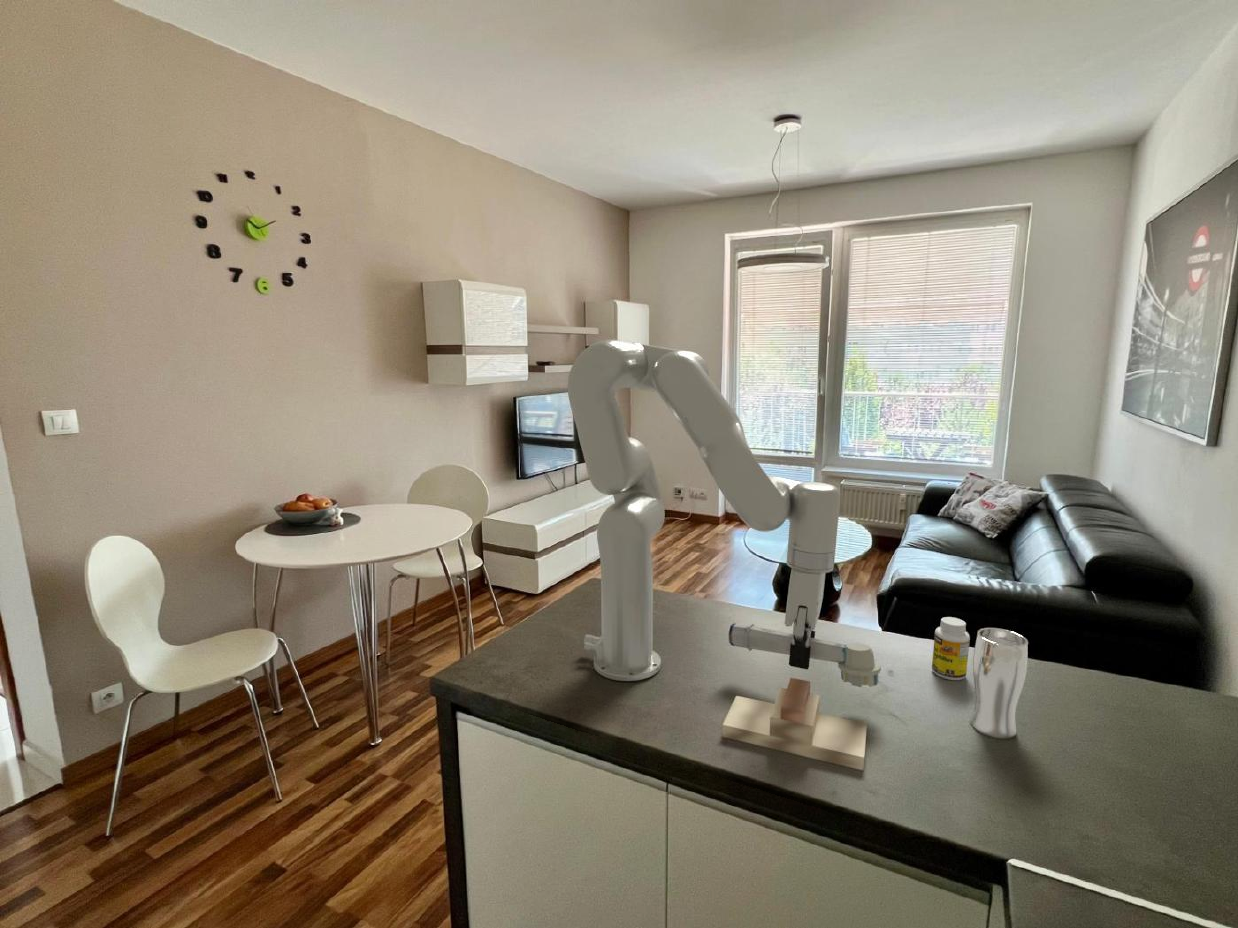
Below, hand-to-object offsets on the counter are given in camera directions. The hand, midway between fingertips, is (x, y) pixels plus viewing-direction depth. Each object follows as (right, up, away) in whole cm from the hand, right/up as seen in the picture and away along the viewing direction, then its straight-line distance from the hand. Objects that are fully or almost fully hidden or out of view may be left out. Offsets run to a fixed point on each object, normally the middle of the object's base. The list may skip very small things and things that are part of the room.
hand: (801, 657), depth 106 cm
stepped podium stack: (-4, -8, -11) cm, 15 cm away
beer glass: (+27, -8, -9) cm, 30 cm away
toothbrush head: (0, -1, 0) cm, 1 cm away
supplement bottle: (+29, -5, +7) cm, 30 cm away
